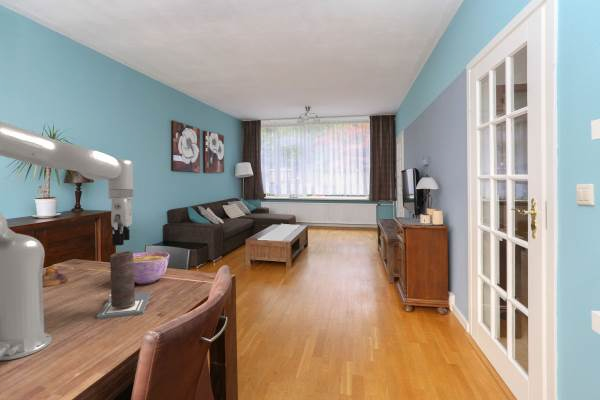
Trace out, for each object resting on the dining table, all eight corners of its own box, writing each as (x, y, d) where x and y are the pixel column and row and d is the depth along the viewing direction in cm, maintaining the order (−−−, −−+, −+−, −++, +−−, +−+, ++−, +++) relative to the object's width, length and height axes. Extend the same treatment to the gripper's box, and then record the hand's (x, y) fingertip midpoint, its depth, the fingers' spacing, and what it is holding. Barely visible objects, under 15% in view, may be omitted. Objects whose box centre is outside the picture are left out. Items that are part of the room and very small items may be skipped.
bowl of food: (179, 279, 145) (178, 255, 144) (138, 291, 127) (137, 264, 127) (153, 272, 155) (152, 249, 154) (112, 283, 138) (111, 258, 137)
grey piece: (142, 313, 107) (142, 304, 106) (96, 319, 102) (96, 309, 102) (150, 293, 125) (150, 285, 125) (111, 297, 121) (111, 289, 121)
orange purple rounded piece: (63, 286, 134) (62, 269, 134) (29, 289, 129) (28, 272, 129) (71, 278, 145) (71, 263, 144) (40, 281, 140) (39, 265, 140)
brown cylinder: (124, 312, 105) (122, 255, 104) (105, 310, 106) (104, 253, 105) (139, 303, 112) (138, 250, 111) (122, 301, 114) (121, 249, 113)
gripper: (127, 195, 100) (128, 246, 101) (137, 193, 116) (137, 238, 117) (101, 195, 98) (102, 248, 99) (114, 193, 114) (115, 238, 115)
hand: (121, 242), depth 108 cm, fingers open, 9 cm apart
